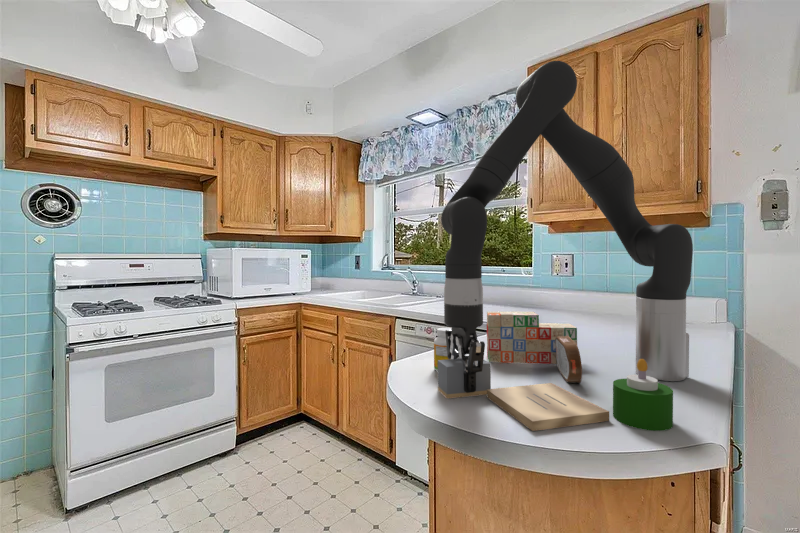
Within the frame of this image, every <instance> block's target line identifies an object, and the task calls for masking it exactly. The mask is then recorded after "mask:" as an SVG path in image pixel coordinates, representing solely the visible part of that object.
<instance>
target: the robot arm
mask: <svg viewBox="0 0 800 533" xmlns="http://www.w3.org/2000/svg"><path fill="white" fill-rule="evenodd" d="M577 79H578V78H577V74H576V73H575V70H574V68H572V66H571V64H568V63H567V62H565V61H562V60H552V61H548V62H546V63H544V64H542V65H541V66H539V67H538V68H537V69H536V70H534V71H533V72H532V73H531V74H530V75H528V76H527V77H526V78H525V79H524V80H523V81H521V83H520V84H519V85H518V87H517V88H516V91H515V102H516V107H517V108H518V112H517V113H516V114H515V116H514V117H513V119H512V120H511V121H510V122H509V123H508V125H507V126H506V127H505V128H504V129H503V130H502V132H500V133H499V135H498V136H497V137H496V138H495V139H494V141H493V142H491V144H490V145H489V146H488V148H487V149H486V150H485V151H484V153H483V154H482V156H481V157H480V159H479V161H478V162H477V164H476V165H475V166H474V167H473V169H472V171H471V173H470V174H469V176H468V177H467V179H466V180H465V181H464V183H463V184H462V185H461V186H460V187H459V188H458V189H457V191H456V192H455V193H454V194H453V195H452V197H451V198H450V199H449V201H448V202H447V203H446V204H445V207H444V209H442V213H441V216H440V217H441V218H440V219H441V220H440V222H441V226H442V228H443V230H444V231H445V232H446V233H448V234H449V235H451V239H450V240H451V242H450V248H449V249H448V250H447V251H446V254H445V259H444V260H445V270H444V271H445V274H444V275H445V276H444V277H445V280H444V281H445V282H444V289H443V294H444V295H443V296H444V297H443V300H444V301H443V304H444V305H443V308H444V309H443V310H444V312H443V314H444V316H443V317H444V318H443V319H444V321H443V323H444V325H446V326H447V327H448V328H452V329H451V330H446V332H445V334H446V345H447V357H448V359H460V360H461V361H462V362H463V369H464V391H465V392H466V393H470V392H475V391H476V372H481V371H482V368H483V359H484V356H485V349H486V343H485V341H484V340H483V341H481V340H480V341H479V340H478V336H477V335H478V334H477V328H479V327H482V326H483V325H484V288H483V282H482V281H483V280H482V271H483V270H482V269H483V268H482V254H483V249H484V246H485V240H486V235H487V234H486V233H487V230H488V229H487V227H488V216H487V215H488V214H487V211H486V207H487V205H488V204H489V203H490V202H491V201H493V200H495V199H496V198H497V197H499V196H500V194H501V193H502V191H503V190H504V189H505V187H506V185H507V184H508V183H509V180H510V179H511V177H512V176H513V175H514V173H515V171H516V170H517V168H518V167H519V165H520V164H521V163H522V161H523V159H524V158H525V156H526V155H527V154H528V152H529V150H531V148H532V147H533V145H534V144H535V142H537V140H538V139H539V137H540V136H541V137H543V138H544V140H546V142H547V143H548V144H549V145H550V146H551V147H552V148H553V150H554V151H555V153H556V154H557V155H558V156H559V158H560V159H561V161H562V162H563V163H564V164H565V165H566V167H568V169H569V170H570V172H571V173H572V174H573V176H574V177H575V179H576V180H577V182H578V183H579V185H580V186H581V187H582V188H583V189H584V191H585V192H586V193H587V195H589V197H590V198H591V199H592V201H593V202H594V203H595V205H596V206H597V208H599V211H601V213H602V214H603V215H604V217H605V218H606V220H607V221H608V223H609V224H610V225H611V227H612V229H613V230H614V232H615V233H616V235H617V236H618V239H619V240H620V242H621V243H622V246H623V247H624V249H625V250H626V252H627V254H628V256H630V258H631V259H632V261H634V262H635V263H637V264H638V265H640V266H644V267H649V268H651V267H653V268H652V273H651V276H650V277H649V278H648V279H646V280H645V281H643V282H640V283H637V285H636V287H635V288H636V289H635V373H636V375H638V368H637V363H638V361H639V360H640V359H644V360H645V361H646V363H647V371H646V376H650V377H653V378H655V379H657V380H658V381H666V382H680V381H684V380H686V378H689V377H690V334H689V333H688V332H687V293H688V289H689V287H690V284H691V281H692V280H691V279H692V270H693V269H692V267H693V266H692V265H693V254H694V253H693V252H694V248H693V247H694V246H693V240H692V235H691V233H690V231H689V230H688V229H687V228H686V227H685V226H684V225H681V224H679V223H668V224H667V223H666V224H657V225H652V224H650V223H649V221H648V220H647V219H645V217H644V216H643V214H642V212H640V210H639V208H638V207H637V205H636V200H635V179H634V175H633V172H632V170H631V168H630V167H629V165H628V164H627V162H626V161H625V159H624V158H623V157H622V156H621V155H620V153H619V152H618V150H617V149H616V148H615V147H614V146H613V145H612V144H611V143H609V142H607V141H606V140H604V139H603V138H601V137H599V136H597V135H595V134H594V133H591V132H590V131H588V130H586V129H584V128H582V127H581V126H580V125H579V124H577V123H576V122H575V121H574V120H573V119H572V118H571V117H570V116H569V114H568V113H567V111H566V110H565V109H564V108H565V107H566V106H568V104H569V103H570V102H571V101H572V99H573V97H574V96H575V94H576V92H577V87H578V80H577ZM467 360H468V364H467ZM484 360H485V359H484ZM477 361H478V364H477Z"/></svg>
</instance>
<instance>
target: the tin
mask: <svg viewBox="0 0 800 533" xmlns="http://www.w3.org/2000/svg"><path fill="white" fill-rule="evenodd" d="M555 346H556V362H557V364H556V365H557V366H556V367H557V370H558V371H559V373H560V375H561V376H562V377H563V379H564V381H565V382H567V383H579V384H580V383H582V379H583V367H582V365H583V364H582V357H581V355H580V354H581V353H580V349H579V346H578V343H577V344H576V343H575V342H574V341H573V340H572V339H571V338H570V337H569V336H559V337H556V339H555Z"/></svg>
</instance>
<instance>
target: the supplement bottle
mask: <svg viewBox="0 0 800 533" xmlns="http://www.w3.org/2000/svg"><path fill="white" fill-rule="evenodd" d="M451 329H452V327H438V328H437V329H436V336H437V337H435V338H434V340H433V369H434V371H435V370H436V371H435V372H437V371H438V360H447V359H448V357H447V345H446V334H445V332H446V330H451Z"/></svg>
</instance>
